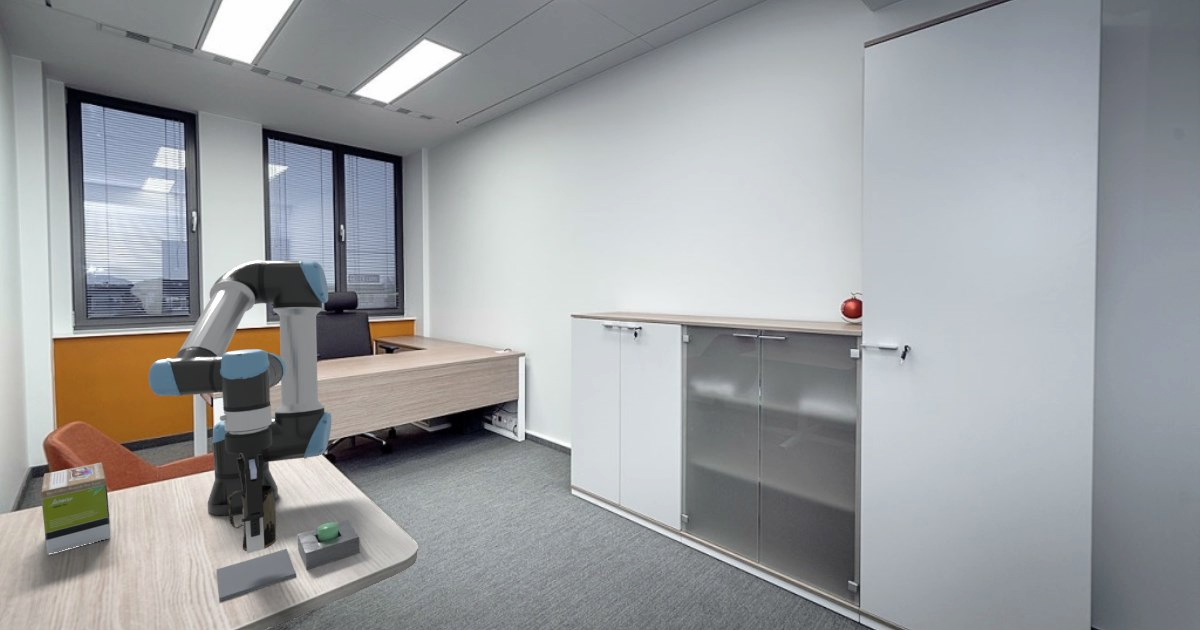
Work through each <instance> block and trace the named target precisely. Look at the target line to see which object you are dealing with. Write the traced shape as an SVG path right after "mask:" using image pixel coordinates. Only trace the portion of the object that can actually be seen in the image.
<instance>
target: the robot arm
mask: <svg viewBox="0 0 1200 630" xmlns="http://www.w3.org/2000/svg"><path fill="white" fill-rule="evenodd" d="M328 301H329V288H328V282H327V278H326V275H325V271H324V268H323V267H322V265H321V264H320V263H319V262H317V261H311V260H309V261H308V260H252V261H248V262H245V263H242V264H240V265H236V266H235V267H233V268H231V269H229V270H228V271H226V272H225V273H224V274H223V275H221V276H220V277H219V278H218V279H217V280H216V281H215V282H214V284H213V285H212V287H211V288H210V291H209V301H208V302H207V304H206V306H205V307H204V309H203V311H202V313H201V314H200V315H199V318H198V319H197V321H196V323H195V324H194V326H193V327H192V329H191V331H190V332H189V334H188V335H187V337H186V339H185V340H184V342H183V344H182V346H181V347H180V349H179V351H178V352H177V353H176V355H175V357H174V358H171V357H167V358H164V359H158V360H157V361H156V360H155V361H154V362H153V363H152V365H151V366H150V368H149V371H148V385H149V387H150V389H151V391H152V392H153V394H154V395H156V396H159V397H169V396H170V397H172V396H173V397H175V396H176V397H182V396H193V395H203V394H204V395H205V394H206V395H207V394H217V393H222V406H223V407H222V408H223V414H224V415H223V414H222V415H220V417H219V420H220V421H219V422H217V423H216V424H215V425H214V427H213V428H212V441H211V444H212V451H213V452H212V453H213V469H214V482H213V485H212V488H211V491H210V494H209V496H208V500H207V511H208V514H211V515H214V516H229V514H228V506H227V497H228V495H229V494H231V493H232V492H235V491H244V490H245V502H246V518H244V513H243V501H242V494H241V492H240V493H237V494H235V495H234V496H233V497H232V499H231V505H232V515H238V514H242V518H241V522H242V523H243V524H244V522H246V541H247V551H246V553H247V554H252V553H255V552H258V551H262V550H265V548H264V531H263V517H264V512H263V498H262V485H270V486H271V487H272V491H273V495H274V501H276V500H277V498H278V497H279V490H278V489H279V488H278V485H277V484H276V483H277V482H276V481H275V479H274V476H273V475H272V472H271V471H270V462H278V461H279V462H280V461H288V460H296V459H307V458H313V457H319V456H321V455H323V454H324V453H325V452H326V450H327V448H328V444H329V441H330V436H331V430H332V414H331V413H330V412H328V411H325V405H324V404H322V403H321V402H320V401H319V399H318V398H319V395H318V394H319V393H318V388H319V387H318V386H319V385H318V354H317V353H318V349H317V344H318V342H317V315H318V314H319V313H320V312H321V311H323V304H326V303H327V302H328ZM257 304H258V305H259V304H272V310H273V312H274V313H276V314H277V315H278V316H279V343H280V345H279V346H280V348H279V349H280V351H279V352H280V353H279V354H280V356H279V355H277V354H276V353H272V352H268V351H266V350H263V349H260V348H259V349H257V348H256V349H255V348H254V349H239V350H231V351H227V349H228V347H229V345H230V343H231V341H232V339H233V337H234V335H235V333H236V331H237V329H238V328H239V325H240V323H241V321H242V319H243V317H244V315H245V313H246V312H248V311H250V310H251V309H252V308H253V307H254V305H257ZM226 351H227V352H226ZM279 383H280V392H281V393H280V395H281V396H280V397H281V398H280V399H281V403H280V405H279V406H278V407H277V408H276V409H274V410H275V411H274V417H272V407H271V406H272V404H271V391H270V390H271V388H273V387H275V386H277V385H278V384H279Z"/></svg>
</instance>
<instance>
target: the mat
mask: <svg viewBox="0 0 1200 630" xmlns="http://www.w3.org/2000/svg"><path fill="white" fill-rule="evenodd" d="M295 577H297V573H296V570H295V567H294V565H293V562H292V560H291V557H290V554H289V551H288V549H287V548H284V549H280V550H277V551H274V552H271V553H268V554H263V555H261V556H256V557H254V558H249V559H247V560H244V561H243V560H242V561H241V562H237V563H234V564H230V565H228V566H223V567H220V568H217V569H216V578H217V579H216V580H217V590H218V601H219V602H221V601H225V600H229V599H230V598H233V597H237V596H240V595H243V594H247V593H248V592H251V591H254V590H259V589H261V588H264V587H266V586H269V585H273V584H276V583H279V582H282V581H285V580H288V579H291V578H295Z"/></svg>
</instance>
